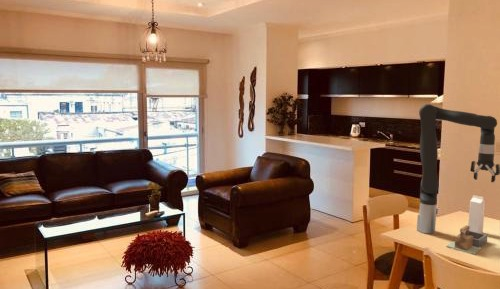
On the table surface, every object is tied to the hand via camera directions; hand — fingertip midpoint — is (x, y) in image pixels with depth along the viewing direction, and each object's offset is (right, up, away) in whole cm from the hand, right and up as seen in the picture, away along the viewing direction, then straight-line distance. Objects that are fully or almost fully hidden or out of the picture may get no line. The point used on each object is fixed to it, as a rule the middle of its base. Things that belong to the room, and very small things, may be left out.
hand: (484, 180), depth 230 cm
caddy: (-17, -34, -11) cm, 40 cm away
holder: (-7, -34, -2) cm, 35 cm away
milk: (+3, -32, +14) cm, 35 cm away
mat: (-17, -35, -11) cm, 40 cm away
